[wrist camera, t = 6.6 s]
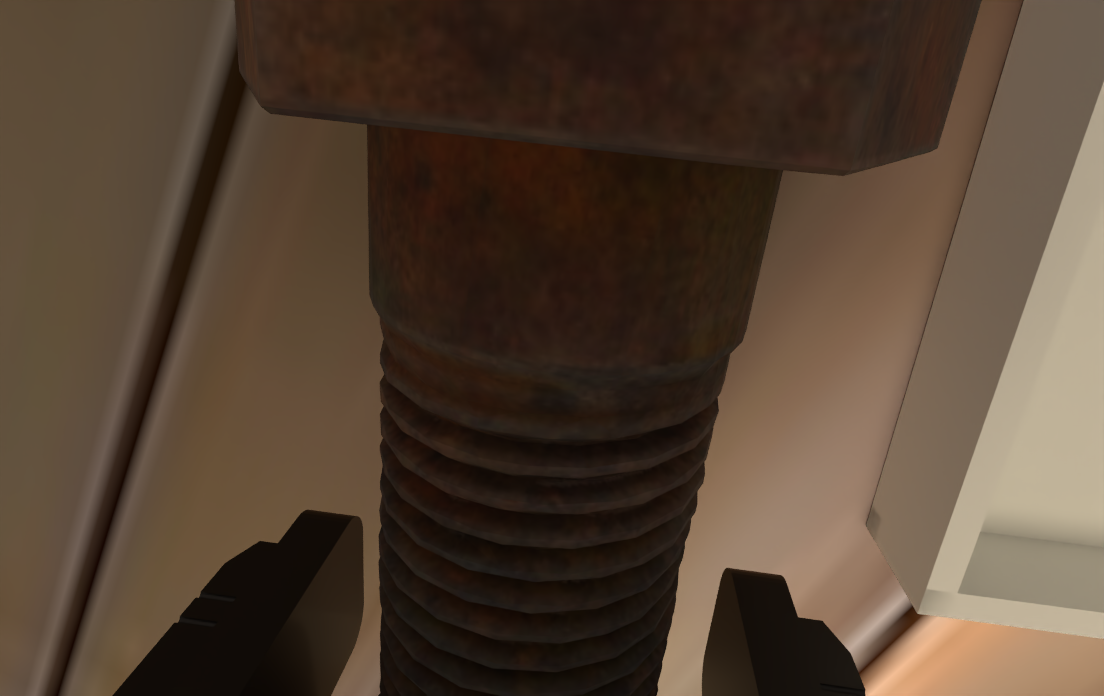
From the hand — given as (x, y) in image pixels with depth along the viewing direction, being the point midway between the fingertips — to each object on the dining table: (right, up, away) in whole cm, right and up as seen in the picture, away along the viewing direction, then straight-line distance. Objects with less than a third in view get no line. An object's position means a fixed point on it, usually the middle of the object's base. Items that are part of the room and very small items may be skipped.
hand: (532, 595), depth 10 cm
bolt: (0, +1, +1) cm, 1 cm away
